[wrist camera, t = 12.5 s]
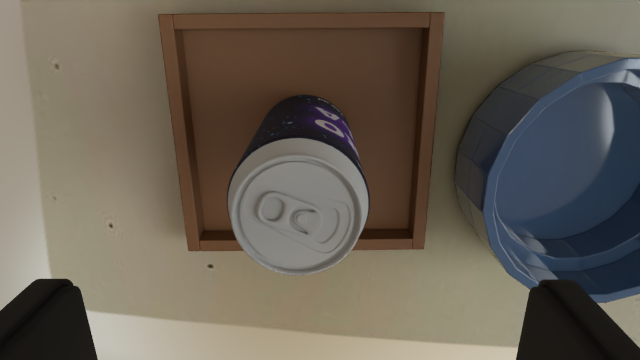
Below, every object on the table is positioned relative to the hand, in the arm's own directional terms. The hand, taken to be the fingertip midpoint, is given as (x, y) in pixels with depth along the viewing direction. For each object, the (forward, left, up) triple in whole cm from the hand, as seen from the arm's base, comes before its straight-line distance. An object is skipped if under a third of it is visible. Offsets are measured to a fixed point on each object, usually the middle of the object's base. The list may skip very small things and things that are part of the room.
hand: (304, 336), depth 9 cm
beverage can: (+1, +1, -19) cm, 19 cm away
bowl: (-16, +3, -20) cm, 26 cm away
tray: (+1, +1, -19) cm, 19 cm away
